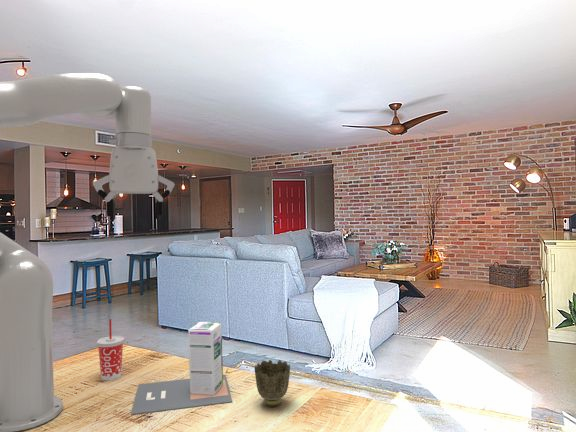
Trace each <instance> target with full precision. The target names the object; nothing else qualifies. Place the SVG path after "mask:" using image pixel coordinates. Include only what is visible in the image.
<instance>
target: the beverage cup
mask: <svg viewBox="0 0 576 432" xmlns="http://www.w3.org/2000/svg"><path fill="white" fill-rule="evenodd" d="M108 321H109V322H108V323H109V324H108V325H109V327H108V328H109V329H108V330H109V333H108V335H109V336H105V337H101V338H99V339H98V340H97V341H96V346H97V347H98V355H99V369H100V379H101V380H102V381H113V380H117V379H119V378H120V377H121V376H122V371H123V369H122V368H123V347H124V346H123V345H124V342H125V337H124V336H121V335H112V334H113V333H112V319H111V318H109V319H108Z"/></svg>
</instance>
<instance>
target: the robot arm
mask: <svg viewBox="0 0 576 432" xmlns="http://www.w3.org/2000/svg"><path fill="white" fill-rule="evenodd" d="M151 96H152V95H151V94H150V92H149V91H148V89H146V88H143V87H141V86H136V85H124V86H120V84H119V82H117V80H115V79H114V78H113V77H111V76H110V75H107V74H103V73H98V72H81V73H80V72H76V73H73V72H71V73H58V74H51V75H44V76H38V77H30V78H25V79H24V78H23V79H17V80H6V81H5V80H4V81H0V129H6V128H7V129H8V128H19V127H20V128H21V127H26V126H31V125H35V124H38V123H40V122H43V121H45V120H48V119H51V118H54V117H59V116H64V115H71V114H81V115H82V116H83V117H84V118H88V119H91V120H95V121H96V120H98V121H99V120H100V121H101V120H105V121H106V120H115V135H114V137H108V143H109V145H113V146H115V147H114V148H112V149H111V153H110V162H109V173H108V175H105V176H103V177H101V178H98V179H96V180H94V181H93V182H92V186H93V187H94V189H95V191H96V193H97V194H98V196H99V197H100V198H102V199H103V200H104V201H105V202H106V216H107V217H109V221H114V220H116V202H115V201H114V200H115V199H116V197H117V196H118V195H119V194H121V195H123V194H125V195H129V194H130V195H138V194H139V195H140V194H141V195H143V194H144V195H151V194H152V196H153V197H154V198H155V200H156V201H155V203H154V205H155V206H154V207H155V210H154V211H155V212H154V214H155V215H154V216H155V220H160V219H161V218H160V217H163V202H164V201H165V200H166V199H167V198H168V197H169V196H170V194H171V192H172V191H173V189H174V188H175V185H176V184H175V182H173V181H172V180H169V179H168V178H165V177H164V176H162V175H160V174H159V170H158V169H159V168H158V161H157V154H156V153H157V152H156V150H155V149H153V145H152V144H153V143H152V140H153V139H152V136H153V135H152V97H151ZM107 183H109V186H108V187H109V190H110V192H108V193H107V192H106V191H105V190H104V189H103V185H105V184H107ZM159 183H161V184H164V185H165V186H166V189H165V191H163V192H162V193H161V194H160V193H159V191H158V190H159ZM53 297H54V281H53V275H52V271H51V270H50V267H49V266H48V265H47V264H46V262H44V260H43V259H41V258H40V257H38V256H37V255H36V254H34V253H32V252H31V251H30V250H28V249H26V248H25V247H23V246H22V245H20V244H19V243H17V242H16V241H14V240H13V239H11V238H10V237H8V236H7V235H5V234H4V233H2V231H1V232H0V432H20V431H25V430H29V429H32V428H35V427H39V426H42V425H43V424H45V423H47V422H49V421H51V420H53V419H54V418H56V417H58V416H59V414H60V413H61V412H62V411H63V408H64V405H63V404H64V402H63V400H62V399H61V398H60V397H57V396H55V388H54V387H55V384H54V381H55V380H54V344H53V343H54V341H53V340H54V339H53V338H54V337H53V336H54V335H53V302H54V301H53V300H54V299H53Z"/></svg>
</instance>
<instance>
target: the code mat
mask: <svg viewBox="0 0 576 432" xmlns="http://www.w3.org/2000/svg"><path fill="white" fill-rule="evenodd" d="M228 403H233V398H232V394H231V390H230V387H229V383H228V378H227V375H226V374H223V385H222V386H221V387H220V389H219V390H218V391H217V392H216V393H215V395H214V396H210V395H197V394H191V393H190V378H185V379H183V378H182V379H175V380H166V381H165V380H164V381H155V382H148V383H147V382H146V383H139V384H138V385H137V390H136V394H135V397H134V401H133V404H132V409H131V412H130V415H131V416H132V415H133V416H134V415H135V416H136V415H140V414H142V415H143V414H148V413H158V412H165V411H173V410H181V409H189V408H196V407H197V408H198V407H203V406H204V407H205V406H211V405H212V406H214V405H221V404H228Z"/></svg>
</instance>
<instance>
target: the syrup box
mask: <svg viewBox="0 0 576 432" xmlns="http://www.w3.org/2000/svg"><path fill="white" fill-rule="evenodd" d="M222 327H223V326H222V322H216V321H198V322H197V324H195V325H194V326H192V327H190V328H189V329H188V330H187V332H188V365H189V366H188V367H189V370H188V371H189V379H190V393H191V394H197V395H210V396H214V395H215V393H216V392H217V391H218V390H219V389H220V387H221V386H222V385H223V375H224V370H223V369H224V367H223V366H224V364H223V362H224V361H223V336H222V335H223V334H222V333H223V332H222Z"/></svg>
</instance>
